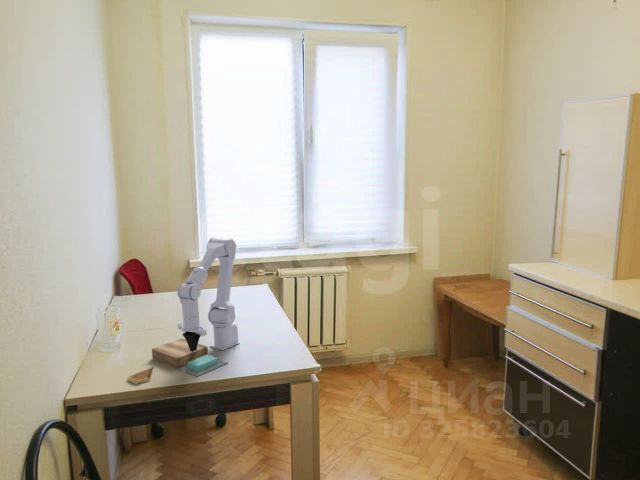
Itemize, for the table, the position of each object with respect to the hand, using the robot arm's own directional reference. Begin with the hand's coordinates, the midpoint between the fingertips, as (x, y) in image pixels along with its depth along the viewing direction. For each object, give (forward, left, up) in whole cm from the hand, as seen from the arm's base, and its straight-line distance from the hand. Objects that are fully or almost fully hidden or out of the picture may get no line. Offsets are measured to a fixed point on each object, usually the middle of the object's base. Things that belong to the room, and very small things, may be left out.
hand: (193, 350), depth 186 cm
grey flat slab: (0, +5, -5) cm, 7 cm away
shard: (+19, -6, -6) cm, 21 cm away
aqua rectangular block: (0, +5, -2) cm, 6 cm away
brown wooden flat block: (0, -9, -5) cm, 10 cm away
